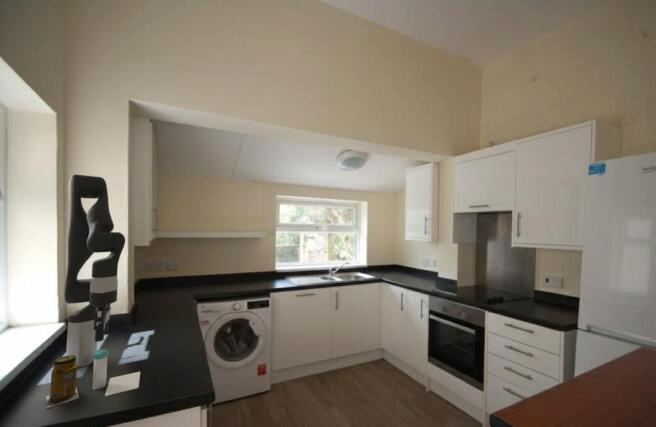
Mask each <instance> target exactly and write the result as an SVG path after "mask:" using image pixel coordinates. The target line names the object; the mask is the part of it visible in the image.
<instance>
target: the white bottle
mask: <svg viewBox="0 0 656 427" xmlns="http://www.w3.org/2000/svg"><path fill="white" fill-rule="evenodd" d="M108 355H109V350H108V349H101V350H97V352H95V353H94V362H93V373H92V374H93V375H92V390H99V389H103V388H104V387H106V386H107V372H108V370H107V369H108Z"/></svg>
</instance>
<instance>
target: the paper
mask: <svg viewBox="0 0 656 427" xmlns="http://www.w3.org/2000/svg"><path fill="white" fill-rule="evenodd" d="M140 377H141V371H137V372H132V373H127V374H123V375H118V376H114V377H110V378H109V381H108V384H107V388H106V390H105V393H104V394H105V395H104V397H109V396H111V395H116V394H119V393H124V392H127V391H132V390H136V389H139V388H140V387H139V386H140Z"/></svg>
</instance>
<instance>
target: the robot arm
mask: <svg viewBox="0 0 656 427" xmlns="http://www.w3.org/2000/svg"><path fill="white" fill-rule="evenodd" d="M106 182H107V181H106V180H105V179H104V178H103V177H101V176H96V175H94V176H93V175H87V174H86V175H85V174H76V173H74V174H72V175H71V176H70V178H69V182H68V196H69V221H68V223H69V224H68V234H67V235H68V236H67V269H66V278H65V285H64V286H65V287H64V302H66V303H67V305H68V304H69V305H70V304H71V305H73V304H80V303H88V305H86V306H84V307H82V308H80V309H77V310H74V311H73V312H70V314H69V315H68V319H67V337H66V355H65V356H68V355H74V356H76V364H77V369H78V368H82V367H85V366H88V365H91V364H94V353H95V352H97V351H98V343H99V342H103V341H104V340H105V339H104V338H105V333H108V330H109V321H110V317H111V309H112V307H111V304H114V303H115V302H117V301H118V287H119V285H118V284H119V281H118V271H119V270H118V267H119V261H120V258H121V254H122V253H123V251H124V250H123V249H124V247H125V245H126V237H125V235H124V234H123V233H122V232H119V231H118V232H117V231H116V232H115V231H114V228H115V225H114V221H113V218H112V216H111V211H110V207H109V206H110V205H109V204H110V203H109V195H108V193H109V191H108V187H107V186H108V184H107V183H106ZM82 199H97V200H96V201H95V203H94V204H92V205H91V207H90V208H89V209H88V211H87V212H86V211H85V209H84V207H83V202H82ZM95 253H98V254H99V253H109V254H108V256H106V257H103V258H99V259H96V260H94V261H93V262H92V265H91V278H84V279H83V278H81V279H78V275H79V273H80V271H81V269H82V268H83V266H85V264H86V262H87V261H89V259H90V258H92V256H93V255H94V254H95Z"/></svg>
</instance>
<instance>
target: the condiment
mask: <svg viewBox="0 0 656 427" xmlns="http://www.w3.org/2000/svg"><path fill="white" fill-rule="evenodd" d="M77 371H78V368H77V364H76V356H74V355H68V356H66V355H63V356H61V357H58V358H56V359H55V360H54V361H53V369H52V370H51V372H50V373H51V374H50V390H49V394H48V395H46V396H45V402H46V404H45V406H46V409H48V408H52V407H56V406H59V405H62V404H65V403H68V402H71V401H75V400H77V399H79V398H80V396H79V392H78V388H77V378H78V377H77V373H78V372H77Z"/></svg>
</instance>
